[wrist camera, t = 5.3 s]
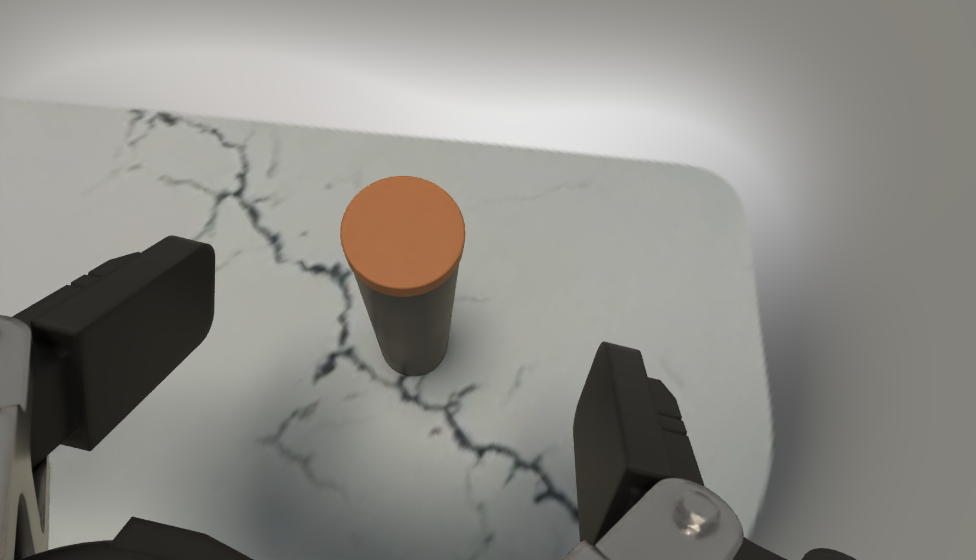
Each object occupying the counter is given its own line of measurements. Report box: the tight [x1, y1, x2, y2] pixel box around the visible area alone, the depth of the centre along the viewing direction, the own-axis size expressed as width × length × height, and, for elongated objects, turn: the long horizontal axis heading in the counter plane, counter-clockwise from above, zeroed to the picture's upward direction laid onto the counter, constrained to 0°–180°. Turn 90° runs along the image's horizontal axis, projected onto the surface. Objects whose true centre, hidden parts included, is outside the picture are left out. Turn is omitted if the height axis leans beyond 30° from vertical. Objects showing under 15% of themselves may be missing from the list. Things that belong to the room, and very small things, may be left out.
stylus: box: [340, 176, 465, 376], centre depth 18 cm, size 3×3×11 cm
